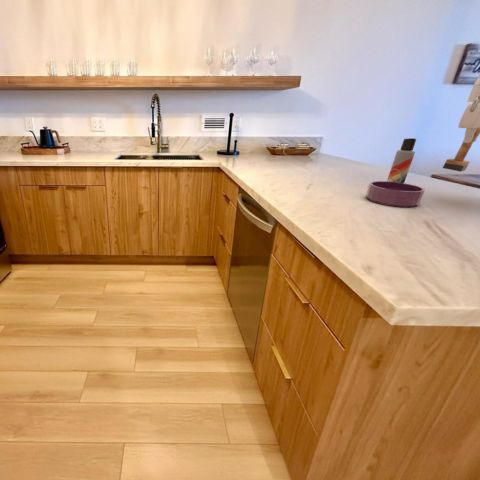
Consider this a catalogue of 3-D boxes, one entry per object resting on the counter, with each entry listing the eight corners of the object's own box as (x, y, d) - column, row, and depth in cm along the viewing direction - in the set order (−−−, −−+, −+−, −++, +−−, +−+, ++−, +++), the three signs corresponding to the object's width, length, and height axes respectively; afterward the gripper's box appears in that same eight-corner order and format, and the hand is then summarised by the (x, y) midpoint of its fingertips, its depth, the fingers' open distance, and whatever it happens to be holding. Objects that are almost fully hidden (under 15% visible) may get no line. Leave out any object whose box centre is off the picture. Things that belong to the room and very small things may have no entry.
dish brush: (465, 170, 98) (487, 130, 92) (460, 171, 96) (483, 130, 90) (446, 166, 102) (466, 128, 95) (442, 168, 100) (462, 128, 94)
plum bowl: (426, 203, 101) (432, 188, 99) (406, 210, 94) (412, 194, 91) (377, 193, 113) (382, 179, 111) (357, 199, 106) (361, 184, 103)
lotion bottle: (388, 190, 117) (405, 138, 109) (382, 186, 122) (398, 137, 114) (404, 190, 116) (423, 138, 108) (397, 187, 121) (415, 137, 113)
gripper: (493, 94, 81) (470, 145, 87) (513, 95, 91) (492, 141, 97) (463, 95, 86) (444, 143, 92) (485, 96, 96) (466, 140, 102)
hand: (468, 142), depth 94 cm, fingers closed on dish brush, 2 cm apart
